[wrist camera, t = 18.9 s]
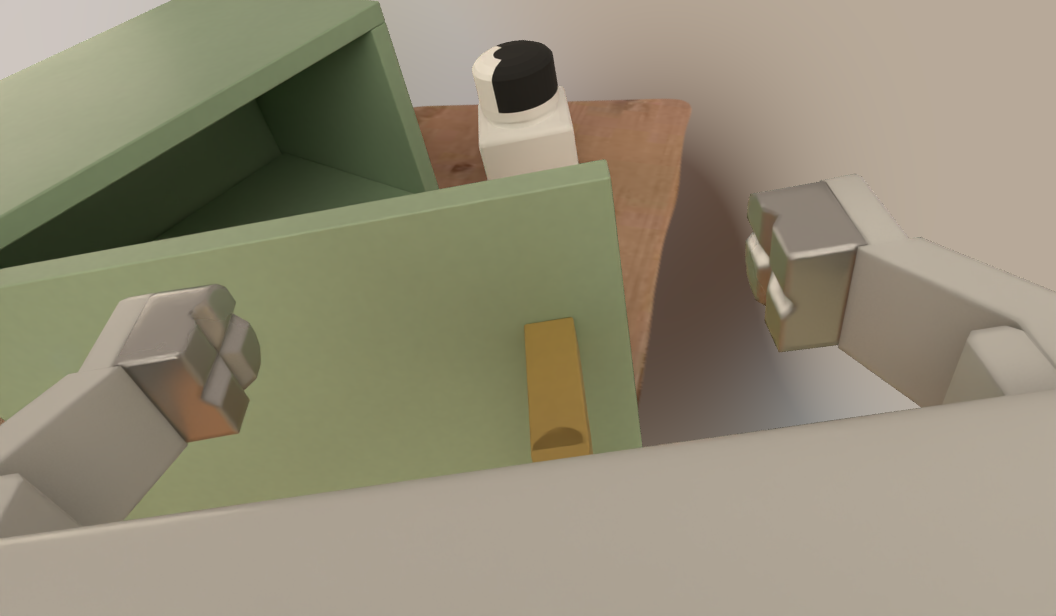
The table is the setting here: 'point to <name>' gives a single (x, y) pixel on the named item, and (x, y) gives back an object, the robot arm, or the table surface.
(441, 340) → the cupboard door
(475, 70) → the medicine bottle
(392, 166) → the cupboard
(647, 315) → the table surface
